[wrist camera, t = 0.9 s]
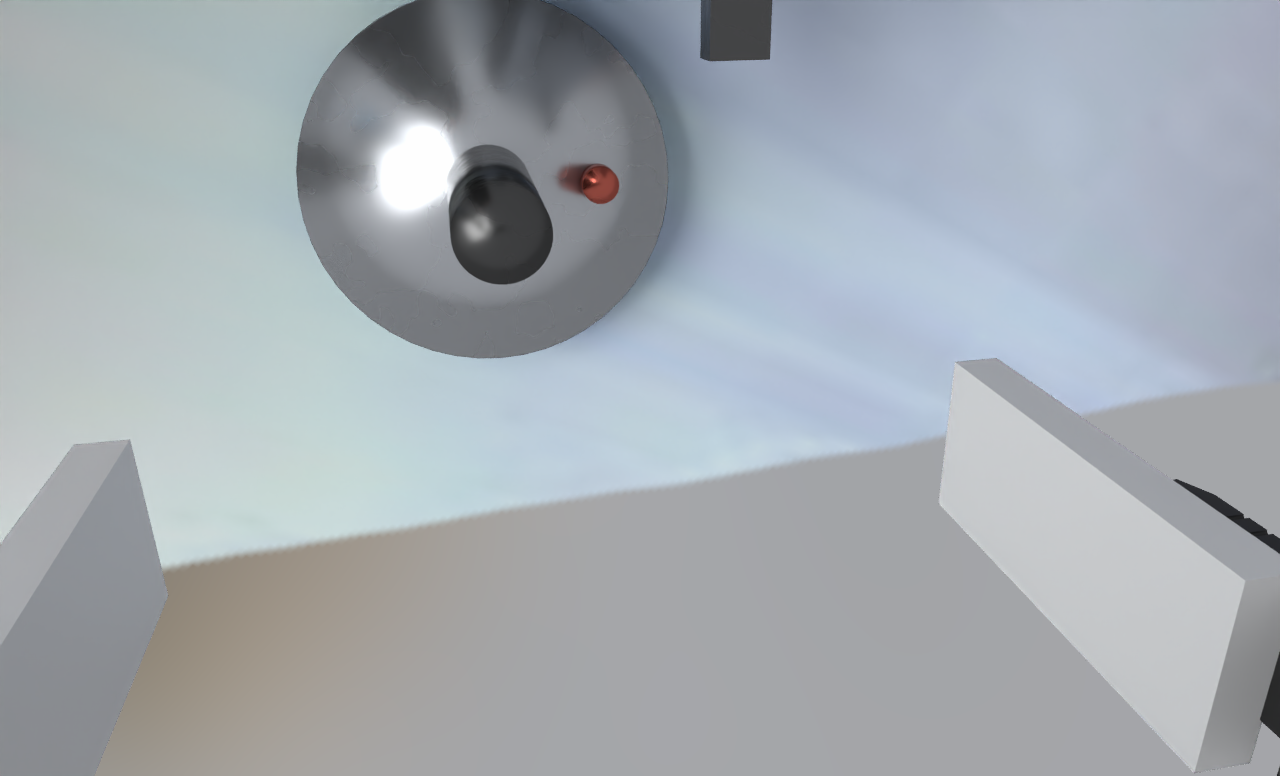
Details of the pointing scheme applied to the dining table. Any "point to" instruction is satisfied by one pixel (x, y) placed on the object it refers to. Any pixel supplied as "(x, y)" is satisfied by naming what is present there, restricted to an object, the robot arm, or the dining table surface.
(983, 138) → the dining table surface
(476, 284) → the lid
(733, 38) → the pot
